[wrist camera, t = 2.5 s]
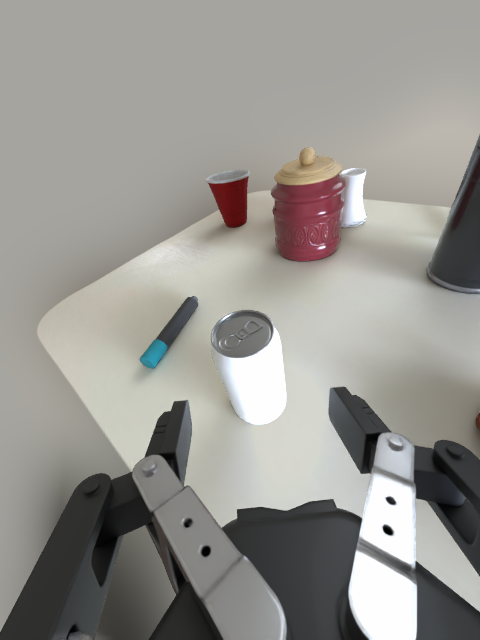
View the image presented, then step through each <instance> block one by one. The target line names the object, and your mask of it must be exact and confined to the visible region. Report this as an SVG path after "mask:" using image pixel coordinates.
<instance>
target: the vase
mask: <svg viewBox="0 0 480 640" xmlns="http://www.w3.org/2000/svg"><path fill="white" fill-rule="evenodd" d="M365 174H366V169H363V168H352V169H347V170H344V171H342V172H341V176H342V177H343V178H344V179H345V180H346V186H345V188H344V189H343V190H342V198H343V199H344V206H343V211H342V221H341V227H354V226H358V225H361V224H363V223H364V222H365V221H366V216H367V214H366V213H365V212H364V208H363V200H362V191H363V183H364V178H365Z"/></svg>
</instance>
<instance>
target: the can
mask: <svg viewBox="0 0 480 640" xmlns="http://www.w3.org/2000/svg"><path fill="white" fill-rule="evenodd" d="M211 343H212V344H211V354H212V357H213V360H214V363H215V365H216V368H217V370H218V373H219V375H220V378H221V380H222V382H223V385H224V387H225V390H226V392H227V394H228V397H229V399H230V402H231V404H232V406H233V408H234V410H235V412H236V414H237V415H238V416H239V417H240V418H241V419H243V420H244V421H246V422H248V423H251V424H266V423H269V422H271V421H273V420H275V419H276V418H277V417H278V416H279V415H280V414H281V413H282V411H283V410H284V407H285V405H286V387H285V377H284V368H283V359H282V350H281V342H280V337H279V334H278V332H277V331H276V329H275V328H274V325H273V323H272V321H271V320H270V318H269V317H268V316H266V315H265V314H263V313H261V312H258V311H254V310H241V311H236V312H233V313H230V314H228V315H226V316H225V317H223V318H222V319H221V320H219V321H218V322H217V324H216V325H215V326H214V328H213V330H212V333H211Z"/></svg>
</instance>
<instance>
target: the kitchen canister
mask: <svg viewBox="0 0 480 640" xmlns="http://www.w3.org/2000/svg"><path fill="white" fill-rule="evenodd" d="M341 171H342V166H341V164H339V163H337V162H335V161H334V160H333V159H332V158H330V157H325V156H315V151H314V150H313V149H312V148H310V147H307V148H304V149H303V150H302V151H301V153H300V156H299V159H297V160H294V161H291V162H289V163H287V164H285V165H284V166H283V167H282V169H281V170H280V171H278V172H277V173H276V174H275V177H274V178H275V181H276V182H277V184H276V185H275V186H274V187H273V188H272V190H271V195H272V197H273V198H274V199H275V205H274V207H273V214H274V221H275V232H276V237H275V241H276V247H277V249H278V252H279V254H280V255H282V256H283V257H285V258H287V259H290V260H295V261H313V260H318V259H322V258H325V257H327V256H329V255H331V254H332V253H334V252H335V251H336V250H337V248H338V246H339V243H340V240H341V221H342V211H343V206H344V199H343V198H342V190H343V189H344V188H345V186H346V180H345V179H344V178H343V177H342V176H340V175H339V173H340V172H341Z"/></svg>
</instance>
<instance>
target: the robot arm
mask: <svg viewBox="0 0 480 640" xmlns="http://www.w3.org/2000/svg"><path fill="white" fill-rule="evenodd" d="M427 274H428V276H429V277H430V279H431V280H432V281H434V282H435V283H437V284H438V285H440V286H442V287H444V288H447V289H450V290H453V291H457V292H463V293H472V294H480V135H479V138H478V140H477V143H476V146H475V149H474V151H473V153H472V156H471V159H470V161H469V164H468V166H467V169H466V172H465V174H464V177H463V180H462V183H461V185H460V187H459V190H458V193H457V195H456V198H455V201H454V203H453V204H452V207H451V211H450V213H449V216H448V218H447V221H446V224H445V226H444V229H443V231H442V234H441V237H440V239H439V242H438V244H437V247H436V249H435V252H434V254H433V257H432V260H431V261H430V263H429V265H428V268H427ZM329 417H330V421H331V423H332V424H333V426H334V428H335V430H336V431H337V433H338V435H339V437H340V438H341V440H342V442H343V443H344V445H345V447H346V449H347V450H348V452H349V454H350V456H351V457H352V459H353V461H354V462H355V464H356V466H357V468H358V469H359V471H360V473H361V474H365V473H370V474H371V476H370V482H369V487H368V492H367V497H366V503H365V508H364V513H363V518H361V517H359V516H357V515H355V514H353V513H351V512H349V511H346V510H343V509H339V508H337V507H336V505H335V503H334V500H333V499H330V500H321V501H312V502H308V503H305V504H303V505H301V506H298V507H296V508H293V509H291V510H288V511H283V510H277V509H271V508H264V507H256V508H247V509H237V519H235V520H233V521H231V522H229V523H228V524H226V525H225V526H224V527H222V528H221V527H220V526H219V524H218V523H217V522H216V520H215V519H214V518H213V516H212V515H211V514H210V512H209V511H208V510H207V508H206V507H205V506H204V504H203V503H202V501H201V500H200V499H199V497H198V496H197V495H196V493H195V492H194V491H193V489H192V488H191V487H190V486H188V485H187V486H186V487H184V480H185V474H186V468H187V461H188V455H189V449H190V442H191V436H192V422H191V415H190V409H189V402H188V400H185V401H174V403H173V406H172V410H171V411H168V412H164V413H163V414H162V415H161V416H160V417H159V419H158V421H157V424H156V428H155V429H154V432H153V435H152V438H151V441H150V444H149V446H148V449H147V452H146V455H145V458H143V459H142V460H140V461H139V462H138V463H137V464H136V465H135V467H134V468H133V471H132V472H130V473H128V474H126V475H123V476H121V477H118V478H115V479H113V480H111V478H110V477H109V476H108V475H107V474H102V473H100V474H95V475H93V476H90V477H88V478H87V479H85V480H84V481H82V482H81V483H80V484H79V485H78V486H77V488H76V489H75V490H74V492H73V494H72V496H71V498H70V500H69V502H68V504H67V505H66V507H65V509H64V511H63V513H62V515H61V517H60V519H59V521H58V523H57V525H56V527H55V528H54V530H53V533H52V534H51V536H50V538H49V540H48V542H47V544H46V546H45V548H44V550H43V552H42V554H41V555H40V557H39V559H38V561H37V563H36V565H35V567H34V569H33V571H32V573H31V575H30V576H29V579H28V580H27V582H26V585H25V586H24V588H23V590H22V592H21V594H20V596H19V598H18V599H17V601H16V603H15V605H14V607H13V609H12V611H11V613H10V615H9V617H8V619H7V621H6V623H5V624H4V626H3V628H2V630H1V632H0V640H94V639H95V635H96V632H97V628H98V625H99V621H100V617H101V614H102V610H103V607H104V603H105V600H106V596H107V592H108V589H109V585H110V582H111V578H112V574H113V571H114V567H115V564H116V560H117V557H118V553H119V549H120V546H121V542H122V538H123V535H124V534H126V533H128V532H131V531H133V530H135V529H137V528H139V527H142V526H144V525H146V527H147V529H148V532H149V534H150V536H151V538H152V540H153V542H154V544H155V546H156V548H157V551H158V553H159V555H160V557H161V559H162V561H163V564H164V566H165V569H166V572H167V575H168V577H169V580H170V582H171V584H172V587H173V589H174V591H175V593H176V597H175V599H174V600H173V602H172V603H171V605H170V606H169V608H168V610H167V611H166V613H165V614H164V616H163V618H162V619H161V621H160V623H159V624H158V625H157V627H156V629H155V630H154V632H153V633H152V635H151V637H150V638H149V640H480V612H479V611H478V610H477V609H475V608H474V607H473V606H472V605H470V604H469V603H468V602H467V601H465V600H464V599H463V598H462V597H460V596H459V595H458V594H457V593H455V592H454V591H453V590H452V589H450V588H449V587H448V586H447V585H445V584H444V583H443V582H442V581H440V580H439V579H438V578H437V577H435V576H434V575H433V574H432V573H430V572H429V571H428V570H427V569H425V568H424V567H423V566H422V565H420V564H419V563H418V562H417V561H415V551H416V499H421V500H426V501H427V502H428V503H429V505H430V506H431V508H432V509H433V510H434V512H435V513H436V515H437V516H438V517H439V519H440V520H441V522H442V523H443V525H444V526H445V527H446V529H447V530H448V532H449V533H450V535H451V536H452V537H453V539H454V540H455V542H456V543H457V544H458V546H459V547H460V549H461V550H462V552H463V553H464V554H465V556H466V557H467V559H468V560H469V562H470V563H471V564H472V566H473V567H474V569H475V570H476V571H477V573H478V574H479V576H480V460H479V459H478V458H477V457H476V456H475V455H474V454H473V453H472V452H471V451H470V450H468V449H467V448H465V447H464V446H462V445H460V444H458V443H455V442H452V441H448V440H440V441H437V442H436V443H435V445H434V449H432V448H426V447H419V446H414V445H413V444H412V443H411V442H410V441H409V440H408V439H407V438H405V437H403V436H402V435H399V434H397V433H392V432H391V431H390V430H389V428H388V427H387V426H386V425H385V424H384V423H383V421H382V420H381V419H380V418H379V417H378V416H377V414H375V412H374V411H373V410H372V409H371V408H370V406H369V405H368V404H367V403H366V402H365V400H363V399H361V398H360V397H358V396H357V395H351V393H350V392H349V391H348V390H347V388H346V387H336V388H331V389H330V396H329ZM471 504H472V505H471Z"/></svg>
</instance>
